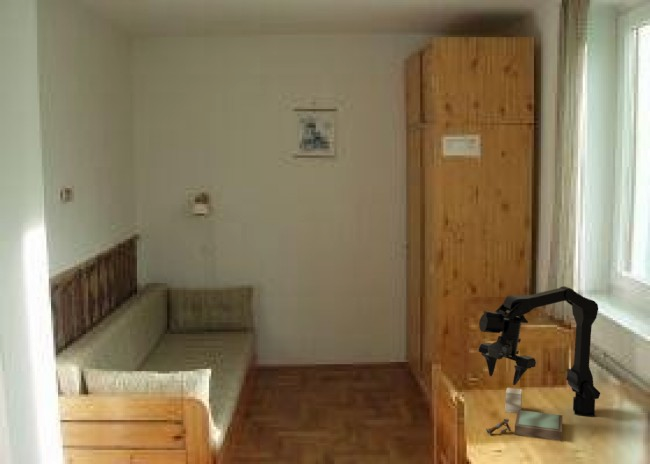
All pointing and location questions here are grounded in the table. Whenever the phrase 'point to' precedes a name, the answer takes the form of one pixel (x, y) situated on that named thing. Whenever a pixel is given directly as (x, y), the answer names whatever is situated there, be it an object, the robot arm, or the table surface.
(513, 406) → the maple block
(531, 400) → the table surface
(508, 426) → the grey brown jointed piece
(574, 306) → the robot arm
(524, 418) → the brown and green tray
